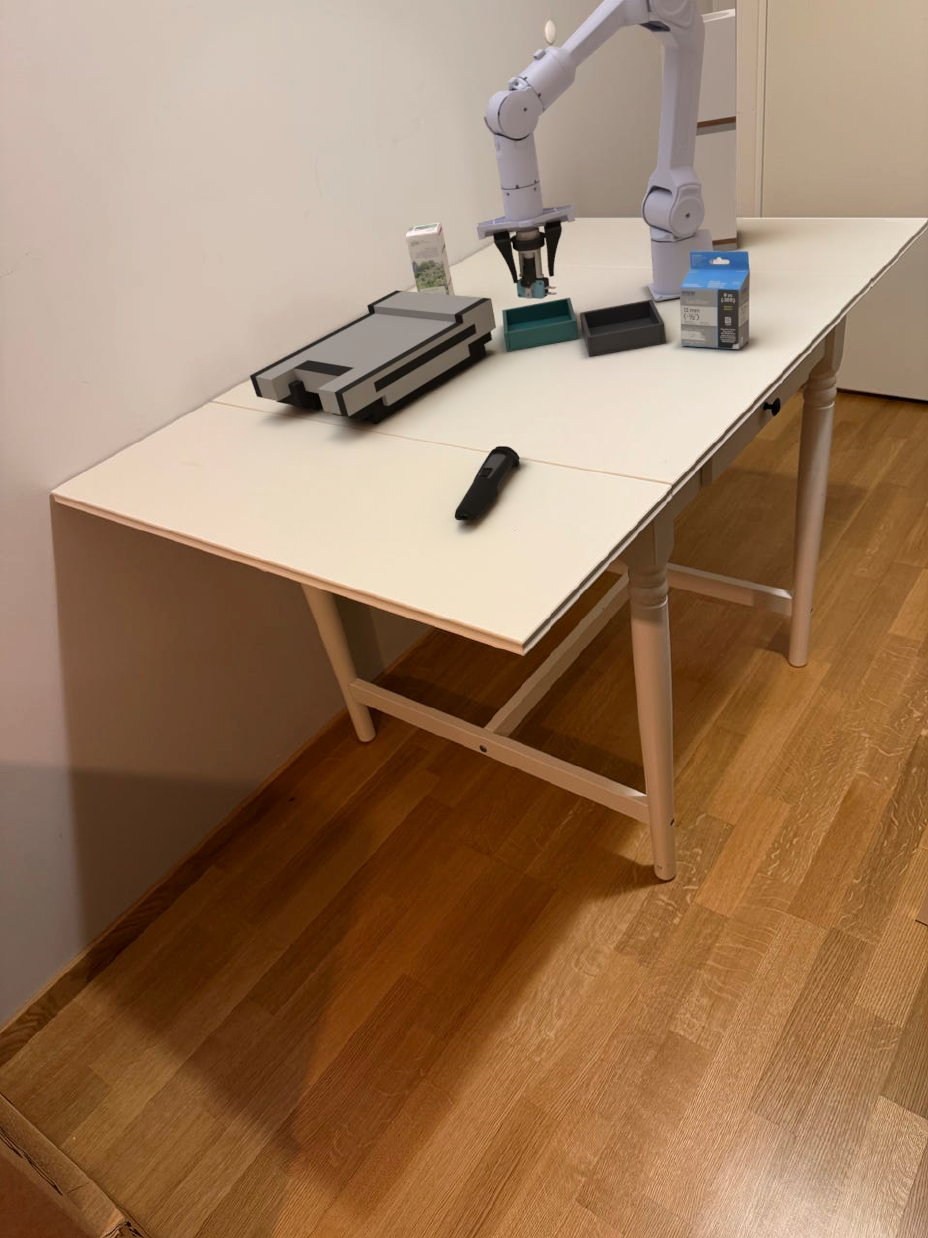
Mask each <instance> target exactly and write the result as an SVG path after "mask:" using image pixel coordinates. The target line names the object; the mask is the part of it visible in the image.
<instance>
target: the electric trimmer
mask: <svg viewBox="0 0 928 1238" xmlns="http://www.w3.org/2000/svg"><path fill="white" fill-rule="evenodd" d="M520 463H521V462H520V456H519V454H518V453H517V451H516V450H515V449H513V448H511V447H510V446H507V445H499V446H496V447H495V448H492V449H491V450H490V452H489V454H488V455H487V456H486V458H485V460H484V461H483V463H482V464H481V466H480V468H479V469H478V471H477V473H476V475H475V476H474V479H473V481H472V483H471V484H470V487H469V488H468V490H467V491H466V493H465V494H464V496H463V497H462V499H461V501H460V503H459V504H458V506H457V508H456V509H455V512H454V519H455V520H456V521H463V522H465V521H467V522H474V521H476V520H477V519H478V518H479V517H480V516H481V515H482V514H483V513H484V512H485V511H486V509H488V508H489V507H490V505H491V504H492V503H493V502H494V501H495V499H496V498H497V497H498V495H499V486H500V484H501V483H502V482H503V480H504V478H505V477H506V475H507V474H508V472H509V471H510V469H511V468H512V467H518V466H519V465H520Z"/></svg>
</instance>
